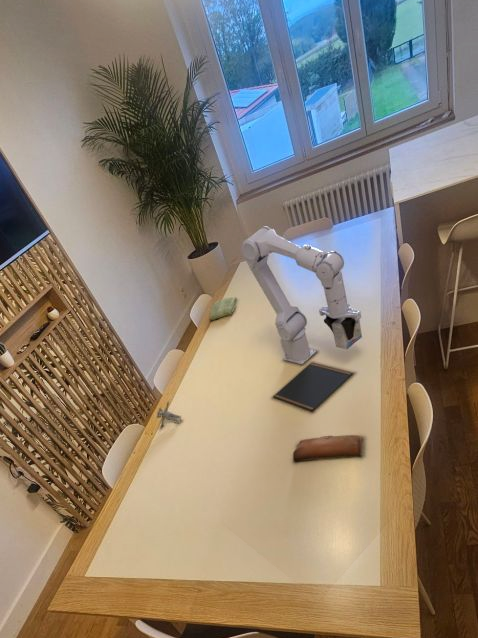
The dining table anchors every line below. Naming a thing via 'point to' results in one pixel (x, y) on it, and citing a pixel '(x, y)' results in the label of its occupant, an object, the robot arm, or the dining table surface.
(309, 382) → the slate mat
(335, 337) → the medicine box
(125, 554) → the dining table surface
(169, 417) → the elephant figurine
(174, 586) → the dining table surface
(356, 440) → the sunglasses case
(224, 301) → the washcloth
